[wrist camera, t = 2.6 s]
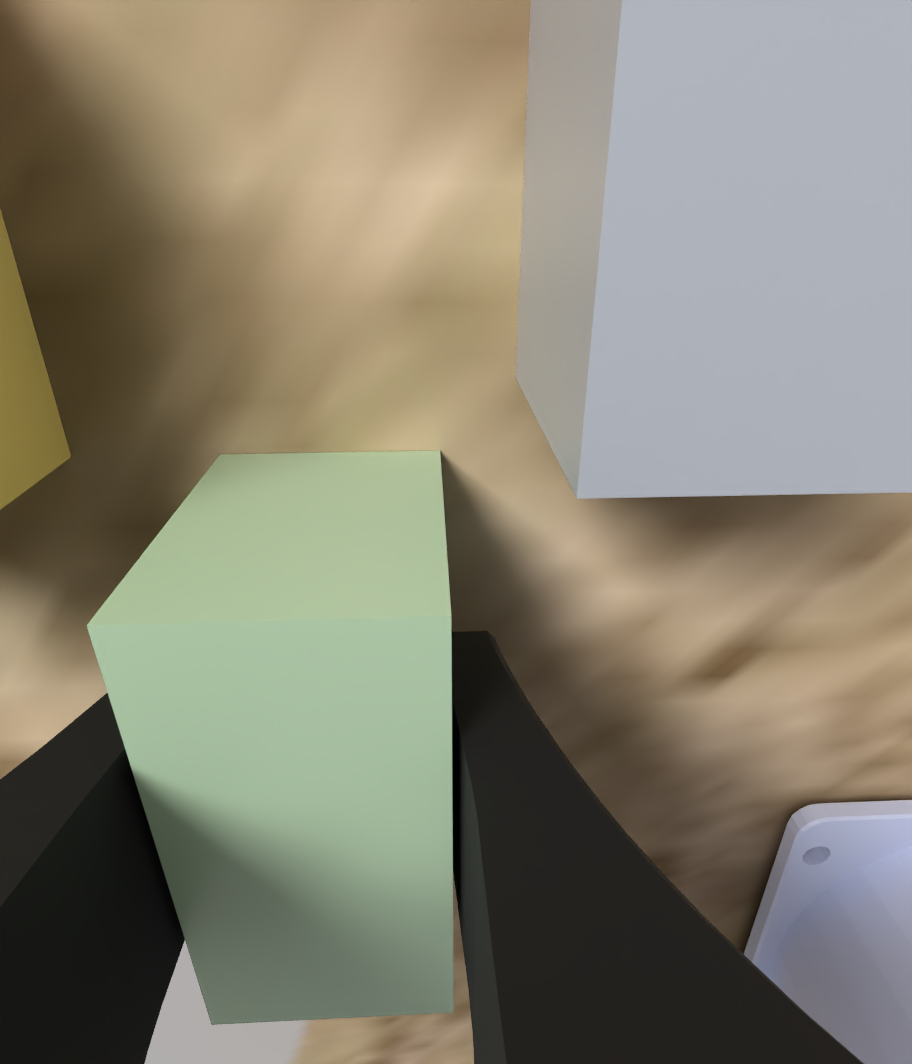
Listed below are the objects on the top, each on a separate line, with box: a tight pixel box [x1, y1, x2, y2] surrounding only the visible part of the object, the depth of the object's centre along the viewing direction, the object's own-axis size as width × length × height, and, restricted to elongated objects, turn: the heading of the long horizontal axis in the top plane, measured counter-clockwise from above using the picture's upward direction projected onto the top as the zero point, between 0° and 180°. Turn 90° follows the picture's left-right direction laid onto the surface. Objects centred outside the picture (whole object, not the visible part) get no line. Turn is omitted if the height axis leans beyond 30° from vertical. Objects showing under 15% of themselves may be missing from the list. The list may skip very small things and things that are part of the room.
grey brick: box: [516, 0, 912, 499], centre depth 6 cm, size 6×3×4 cm, turn 0°
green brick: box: [87, 451, 454, 1025], centre depth 9 cm, size 6×3×4 cm, turn 0°
